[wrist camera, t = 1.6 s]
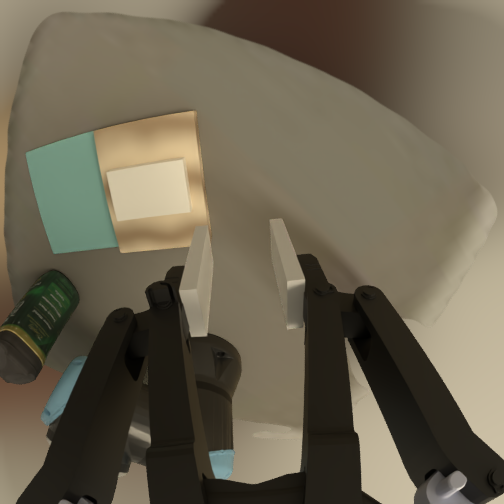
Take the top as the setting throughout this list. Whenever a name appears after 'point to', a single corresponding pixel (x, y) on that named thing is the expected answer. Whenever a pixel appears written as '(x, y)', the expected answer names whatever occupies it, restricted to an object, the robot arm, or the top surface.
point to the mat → (71, 195)
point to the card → (150, 189)
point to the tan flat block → (149, 150)
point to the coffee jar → (35, 327)
